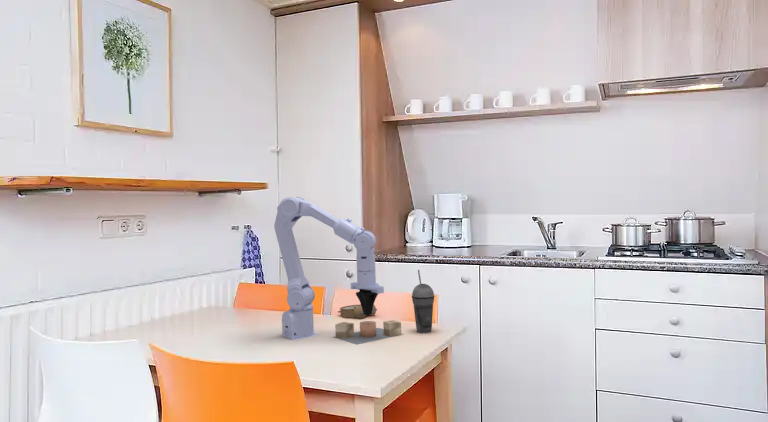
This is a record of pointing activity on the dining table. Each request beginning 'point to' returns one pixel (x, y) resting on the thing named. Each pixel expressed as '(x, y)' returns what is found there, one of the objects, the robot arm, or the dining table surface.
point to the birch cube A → (344, 330)
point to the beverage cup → (423, 306)
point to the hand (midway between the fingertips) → (367, 314)
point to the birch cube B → (392, 328)
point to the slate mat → (359, 340)
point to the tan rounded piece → (368, 329)
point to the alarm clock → (355, 311)
